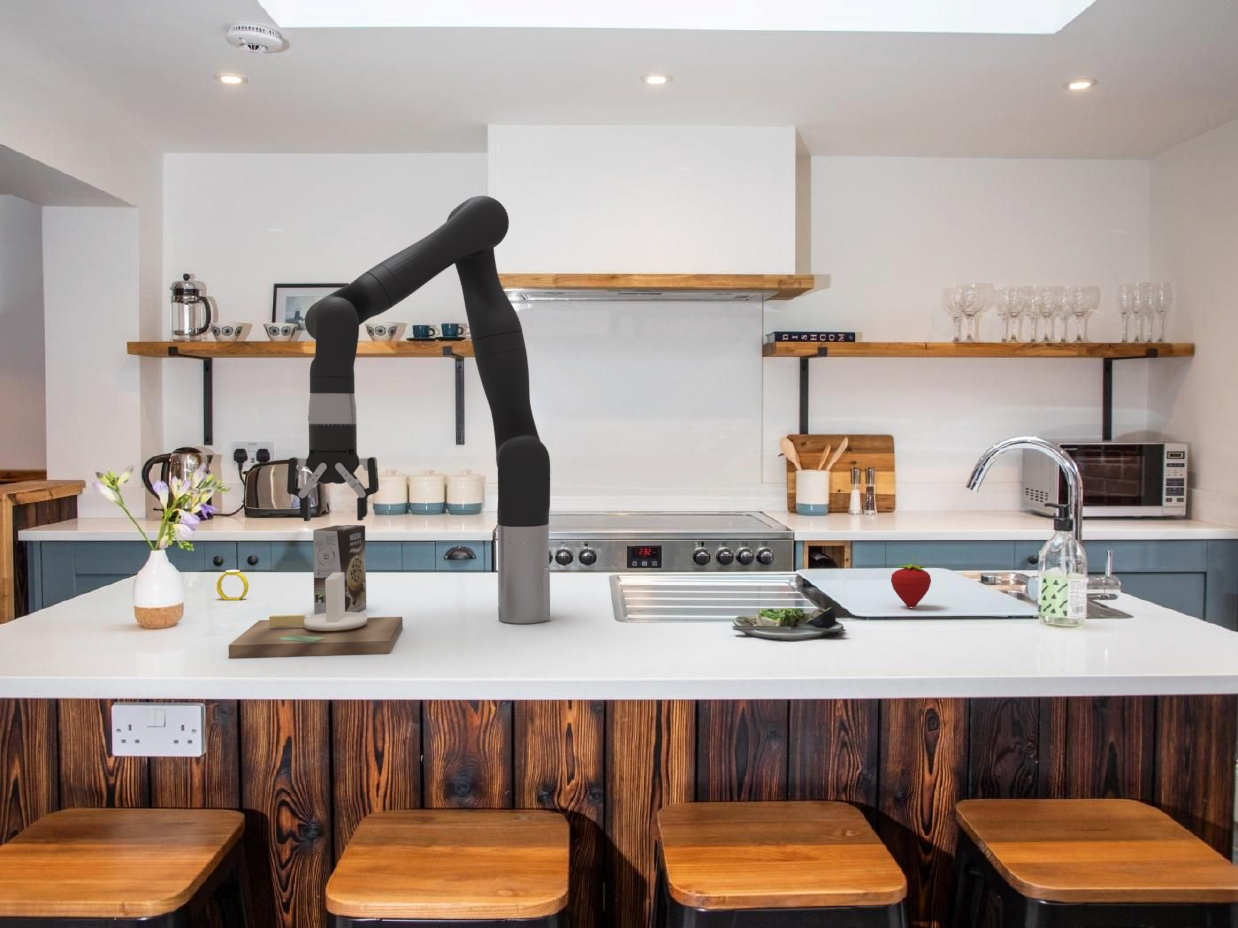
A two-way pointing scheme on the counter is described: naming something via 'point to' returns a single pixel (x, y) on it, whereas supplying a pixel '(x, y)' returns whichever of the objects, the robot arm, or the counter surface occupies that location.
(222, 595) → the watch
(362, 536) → the coffee box
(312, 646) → the dial board
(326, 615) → the dial knob
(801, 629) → the salad plate
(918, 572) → the strawberry
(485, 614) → the counter surface
